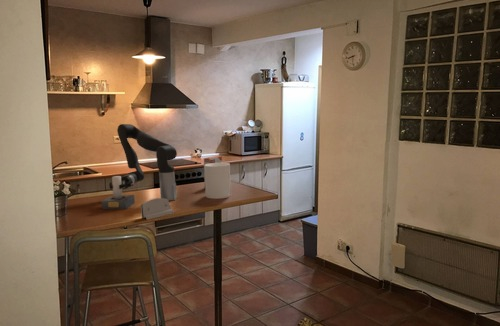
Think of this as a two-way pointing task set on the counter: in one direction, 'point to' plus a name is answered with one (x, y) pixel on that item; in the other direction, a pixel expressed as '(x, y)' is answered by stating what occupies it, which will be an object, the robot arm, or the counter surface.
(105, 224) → the counter surface
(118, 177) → the peg
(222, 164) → the canister
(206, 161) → the cracker box
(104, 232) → the counter surface
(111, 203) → the socket block
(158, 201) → the hinge
